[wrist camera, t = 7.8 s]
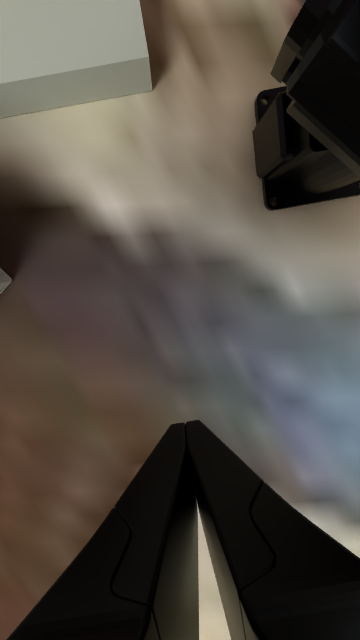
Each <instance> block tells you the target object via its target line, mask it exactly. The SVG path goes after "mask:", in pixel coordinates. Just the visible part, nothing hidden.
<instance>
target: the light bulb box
mask: <svg viewBox="0 0 360 640" xmlns="http://www.w3.org/2000/svg"><path fill="white" fill-rule="evenodd" d="M11 282H12V279H11V277H10V276H8V275H7V274H6V273H5V272H4V271H3V270H2V269H1V268H0V294H1V293H2V292H3V291H4V290H5V289H6V288H7V286H8V285H9V284H10V283H11Z"/></svg>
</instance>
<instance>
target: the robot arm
mask: <svg viewBox="0 0 360 640" xmlns="http://www.w3.org/2000/svg"><path fill="white" fill-rule="evenodd" d="M271 75H272V76H273V77H274V78H275V79H276V80H277V81H279V82H280V83H281V81H283V82H284V83H285V84H286V85H287V86H286V87H280V88H275V89H269V90H264V91H262V92H260V93H259V94H258V96H257V98H256V100H255V105H254V106H255V116H256V127H255V129H254V130H253V143H254V152H255V162H256V172H257V176H258V177H259V178H260V179H262V185H263V195H264V204H265V207H266V208H267V209H268V210H270V211H274V210H279V209H285V208H291V207H296V206H302V205H307V204H313V203H319V202H324V201H330V200H336V199H341V198H347V197H352V196H358V195H360V189H359V183H360V0H306V2H305V3H304V5H303V7H302V9H301V10H300V12H299V14H298V16H297V17H296V19H295V21H294V23H293V25H292V26H291V28H290V30H289V32H288V34H287V36H286V38H285V40H284V42H283V45H282V47H281V50H280V52H279V55H278V57H277V60H276V62H275V64H274V67H273V69H272V72H271ZM261 99H265V100H266V101H267V105H262V104H261ZM271 198H274V199H275V200H276V204H275V206H273V205H272V204H271V203H270V200H271ZM196 498H197V499H196ZM197 504H198V509H199V513H200V517H201V521H202V525H203V529H204V533H205V537H206V541H207V545H208V549H209V553H210V557H211V561H212V565H213V569H214V573H215V577H216V581H217V585H218V589H219V593H220V597H221V600H222V604H223V608H224V612H225V616H226V620H227V624H228V628H229V632H230V636H231V640H360V558H359V557H357V556H356V555H355V554H353V553H352V552H351V551H349V550H348V549H347V548H345V547H344V546H343V545H341V544H340V543H339V542H337V541H336V540H335V539H333V538H332V537H331V536H329V535H328V534H327V533H325V532H324V531H323V530H321V529H320V528H319V527H317V526H316V525H315V524H313V523H312V522H311V521H310V520H308V519H307V518H306V517H305V516H303V515H302V514H301V513H300V512H298V511H297V510H296V509H294V508H293V507H292V506H291V505H290V504H289V503H287V502H286V501H285V500H284V499H283V498H282V497H281V496H280V495H278V494H277V493H276V492H275V491H274V490H273V489H272V488H271V487H270V486H269V485H268V484H267V483H264V481H263V480H262V479H261V478H260V477H259V476H258V475H257V474H256V473H255V472H254V471H253V470H252V469H251V468H250V467H249V466H247V465H246V464H245V463H244V462H243V461H242V460H241V459H240V458H239V457H238V456H237V455H236V454H235V453H234V452H233V451H232V450H231V449H229V448H228V447H227V446H226V445H225V444H224V443H223V442H222V441H221V440H220V439H219V438H218V437H217V436H216V435H215V434H214V433H213V432H212V431H210V430H209V429H208V428H207V427H206V426H205V425H204V424H203V423H202V422H201V421H200V420H194V421H188V422H186V425H185V423H176V424H172V425H170V427H169V428H168V430H167V431H166V432H165V434H164V435H163V437H162V438H161V440H160V441H159V443H158V444H157V445H156V447H155V448H154V450H153V451H152V453H151V454H150V455H149V457H148V458H147V460H146V461H145V463H144V464H143V466H142V467H141V468H140V470H139V471H138V473H137V474H136V476H135V477H134V478H133V480H132V481H131V483H130V484H129V486H128V487H127V489H126V490H125V491H124V493H123V494H122V496H121V497H120V499H119V500H118V501H117V503H116V504H115V506H114V508H113V509H112V510H111V511H110V513H109V514H108V516H107V517H106V518H105V520H104V521H103V523H102V524H101V525H100V527H99V528H98V529H97V531H96V532H95V534H94V535H93V536H92V538H91V539H90V540H89V542H88V543H87V544H86V545H85V547H84V548H83V549H82V550H81V552H80V553H79V554H78V555H77V556H76V558H75V559H74V560H73V561H72V563H71V564H70V565H69V566H68V567H67V569H66V570H65V571H64V572H63V573H62V575H61V576H60V577H59V578H58V579H57V581H56V582H55V583H54V584H53V585H52V586H51V588H50V589H49V590H48V591H47V592H46V594H45V595H44V596H43V597H42V598H41V600H40V601H39V602H38V603H37V604H36V605H35V607H34V608H33V609H32V610H31V611H30V613H29V614H28V615H27V616H26V617H25V619H24V620H23V621H22V622H21V623H20V624H19V626H18V627H17V628H16V629H15V630H14V631H13V632H12V634H11V635H10V636H9V637H8V638H7V639H6V640H199V591H198V512H197Z"/></svg>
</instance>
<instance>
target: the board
mask: <svg viewBox="0 0 360 640" xmlns="http://www.w3.org/2000/svg"><path fill="white" fill-rule="evenodd" d="M148 91H152V82H151V72H150V63H149V55H148V49H147V43H146V37H145V31H144V25H143V19H142V13H141V7H140V1H139V0H0V118H4V117H10V116H15V115H21V114H26V113H32V112H37V111H43V110H48V109H54V108H59V107H65V106H71V105H76V104H82V103H87V102H93V101H98V100H104V99H109V98H115V97H120V96H126V95H131V94H137V93H142V92H148Z"/></svg>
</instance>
